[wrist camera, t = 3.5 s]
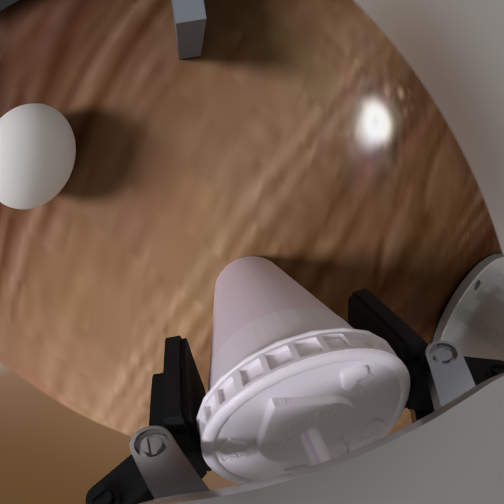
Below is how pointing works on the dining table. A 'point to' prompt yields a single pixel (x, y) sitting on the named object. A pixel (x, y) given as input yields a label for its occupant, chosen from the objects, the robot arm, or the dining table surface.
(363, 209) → the dining table surface
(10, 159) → the ball
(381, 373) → the smoothie
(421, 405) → the robot arm
